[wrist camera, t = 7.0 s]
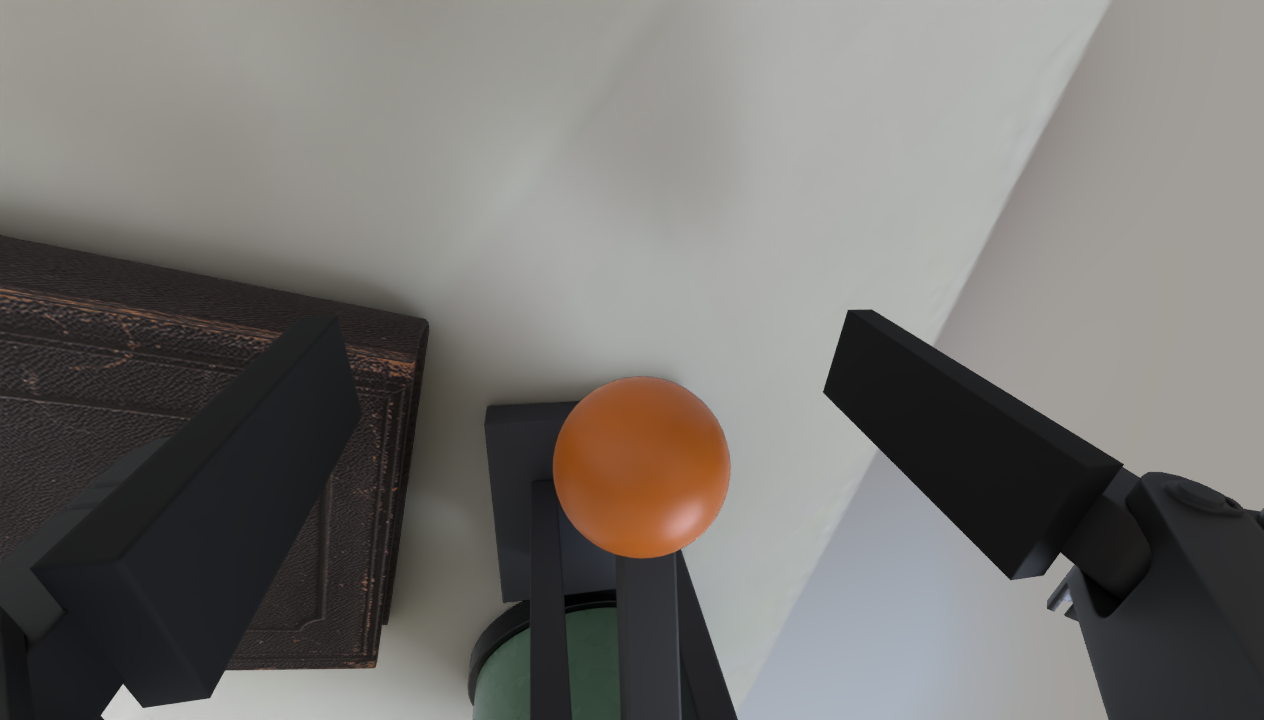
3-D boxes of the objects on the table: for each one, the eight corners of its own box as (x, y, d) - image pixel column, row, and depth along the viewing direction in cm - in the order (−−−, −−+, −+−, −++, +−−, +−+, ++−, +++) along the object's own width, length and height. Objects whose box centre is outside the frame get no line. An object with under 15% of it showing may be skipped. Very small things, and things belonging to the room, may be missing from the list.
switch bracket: (486, 405, 18) (368, 1201, 5) (690, 395, 19) (1006, 979, 6) (504, 580, 22) (466, 1217, 10) (666, 561, 24) (821, 1088, 11)
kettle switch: (548, 378, 11) (551, 382, 8) (693, 372, 12) (758, 374, 8) (566, 943, 11) (579, 1218, 7) (712, 904, 12) (788, 1138, 8)
